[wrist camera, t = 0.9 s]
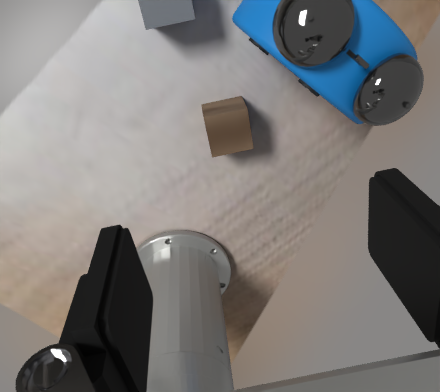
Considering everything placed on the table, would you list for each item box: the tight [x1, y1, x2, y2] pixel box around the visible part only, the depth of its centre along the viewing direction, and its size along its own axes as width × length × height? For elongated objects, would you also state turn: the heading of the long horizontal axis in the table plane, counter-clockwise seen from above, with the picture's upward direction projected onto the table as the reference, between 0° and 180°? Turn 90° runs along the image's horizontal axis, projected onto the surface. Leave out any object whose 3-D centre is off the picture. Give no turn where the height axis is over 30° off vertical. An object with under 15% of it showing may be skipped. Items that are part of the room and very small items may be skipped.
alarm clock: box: [232, 0, 424, 126], centre depth 29 cm, size 13×6×15 cm, turn 54°
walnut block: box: [202, 96, 254, 157], centre depth 37 cm, size 4×4×4 cm
